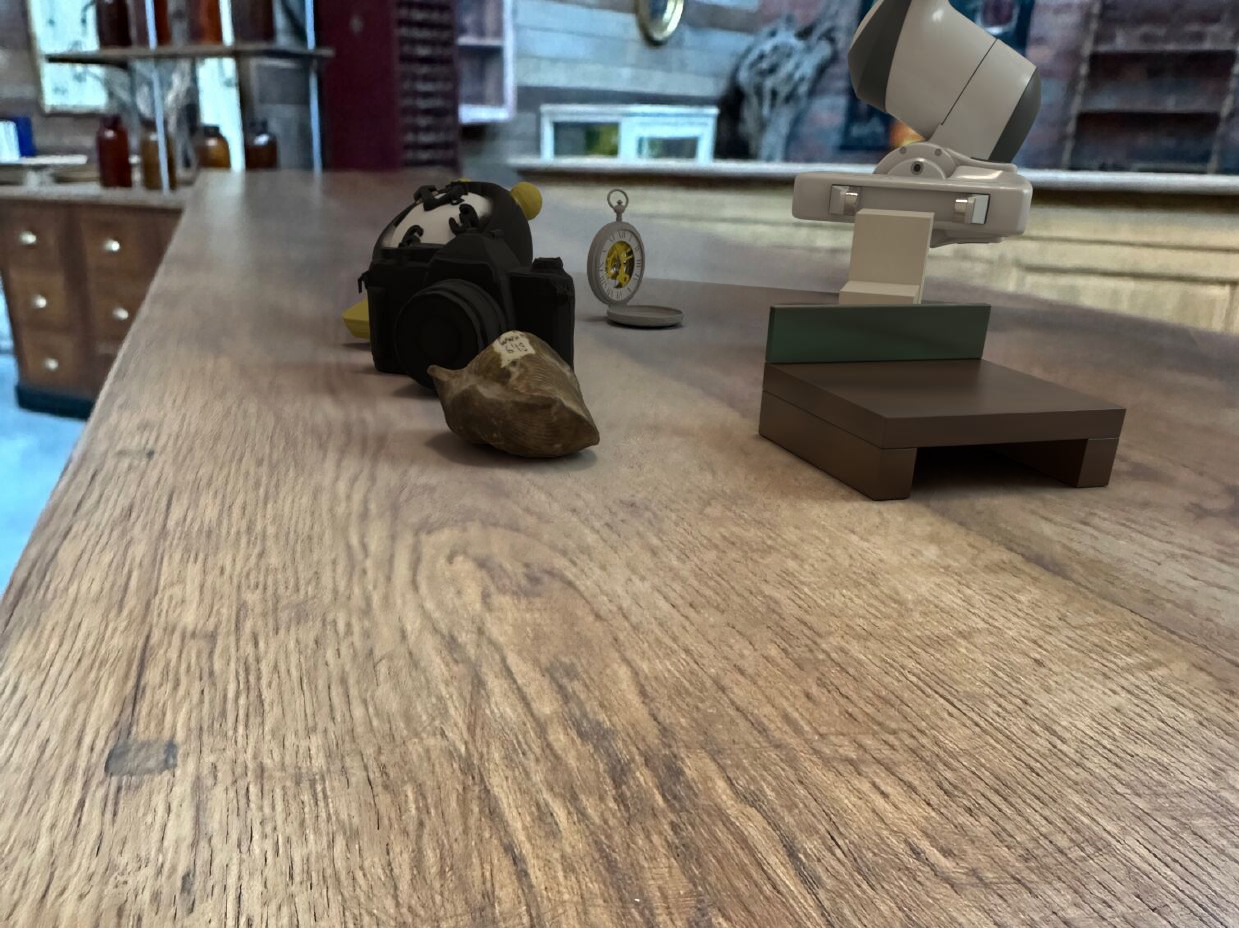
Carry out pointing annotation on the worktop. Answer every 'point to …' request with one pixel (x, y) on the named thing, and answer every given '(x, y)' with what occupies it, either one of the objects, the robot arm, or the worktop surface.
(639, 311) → the pocket watch
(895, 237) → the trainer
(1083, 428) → the low wooden bench
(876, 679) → the worktop surface
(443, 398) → the fossilized seashell
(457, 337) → the film camera
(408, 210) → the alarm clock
